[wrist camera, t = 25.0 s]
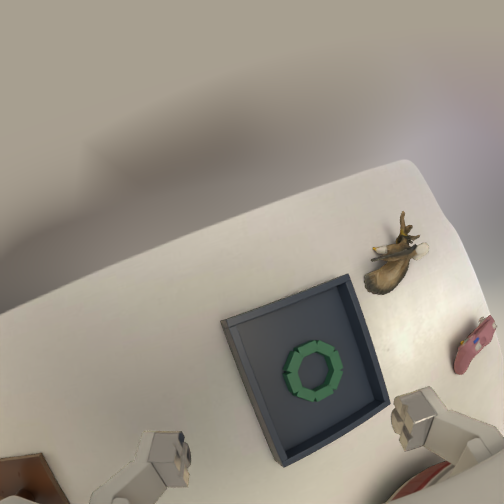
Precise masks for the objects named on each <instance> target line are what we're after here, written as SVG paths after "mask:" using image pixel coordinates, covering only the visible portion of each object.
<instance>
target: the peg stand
mask: <svg viewBox="0 0 504 504" xmlns="http://www.w3.org/2000/svg"><path fill="white" fill-rule="evenodd" d="M9 496H19V497H22V498H24V499H27V500H30V501H33V502H36V503H39V504H70V503H69V502H68V500H67V498H66V497H65V495H64V493H63V492H62V490H61V488H60V487H59V485H58V483H57V481H56V480H55V478H54V476H53V474H52V472H51V470H50V468H49V467H48V465H47V463H46V461H45V459H44V457H43V455H42V453H37V454H31V455H25V456H17V457H10V458H1V459H0V501H1V500H3V499H5V498H7V497H9Z"/></svg>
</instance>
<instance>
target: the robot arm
mask: <svg viewBox="0 0 504 504" xmlns="http://www.w3.org/2000/svg"><path fill="white" fill-rule="evenodd" d="M393 404H394V406H395V408H394V410H393V411H392V414H391V423H392V427H393V429H394V431H395V433H397V434H399V435H400V439H399V441H400V443H401V445H402V447H403V449H404V451H405V452H406V451H409V450H412V449H415V448H418V447H421V446H424V447H425V448H427V449H429V450H430V451H432V452H433V453H435V454H437V455H438V456H440V457H441V458H443V459H445V460H446V461H448V462H450V463H451V464H453V465H455V467H454V469H453V470H452V472H451V474H450V476H449V478H448V479H446V480H444V481H441V482H439V483H437V484H434V485H432V486H430V487H427V488H425V489H422V490H420V491H417V492H415V493H412V494H409V495H407V496H404V497H401V498H398V499H395V500H392V501H389V502H386V503H383V504H504V437H503V436H502V435H501V433H500V432H499V431H498V429H497V428H496V427H495V426H492V425H490V424H487V423H484V422H482V421H479V420H477V419H474V418H471V417H469V416H466V415H464V414H461V413H459V412H456V411H454V410H449V411H448V409H447V408H446V406H445V405H444V404H443V402H442V401H441V400H440V398H439V397H438V395H437V394H436V393H435V391H434V390H433V389H432V387H430V386H428V387H425V388H422V389H419V390H416V391H413V392H410V393H406V394H403V395H400V396H397V397H396V398H395V399H394V403H393ZM184 438H185V437H184V435H183V433H182V431H144V432H143V433H142V435H141V438H140V442H139V445H138V449H137V452H136V456H135V460H134V461H130V462H129V463H128V464H127V465H126V466H125V467H123V468H122V469H121V470H120V471H119V472H117V473H116V474H115V475H114V476H113V477H111V478H110V479H109V480H108V481H107V482H105V483H104V484H103V485H102V486H100V487H99V488H98V489H97V490H95V491H94V492H93V493H92V496H91V499H90V502H89V504H155V503H156V501H157V500H158V499H159V498H160V497H161V495H162V494H163V493H164V492H165V491H166V489H167V487H188V484H189V475H190V474H189V472H188V470H187V468H188V467H189V466H190V465H191V452H190V448H189V446H188V444H187V443H186V442H184ZM0 504H39V503H36V502H33V501H30V500H27V499H24V498H22V497H19V496H9V497H7V498H5V499H3V500H1V501H0Z"/></svg>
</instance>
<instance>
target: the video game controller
mask: <svg viewBox="0 0 504 504" xmlns="http://www.w3.org/2000/svg"><path fill="white" fill-rule="evenodd" d="M483 318H484V317H481V318H480V319H479V322H480V324H479V326H478V327H477V328H476V329H475V330H474V331H473V332H472V333H471V334H470V335H469V336H468V337H467V339H466V340H465V341H464V340H463V341H461V342H460V344H461V345H460V346H459V347H458V350H459V351H458V353H457V356H456V359H455V362H454V370H455V373H457V374H459V375H462V374H464V373H465V372H466V370H467V368H468V366H469V364H470V362H471V360H472V359H473V358H474V357H475V356H476V355H477V354H478V353H479V352H480V351H481V350H482V349H483V347H484V346H486V345H488V344H489V343H490V342H491V340H492V337H493V334H494V332H495V330H496V327H497V326H496V324H495V321H494V319H493V318H492V317H491V315H489V316H488V317H487V318H484V319H483Z"/></svg>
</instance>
